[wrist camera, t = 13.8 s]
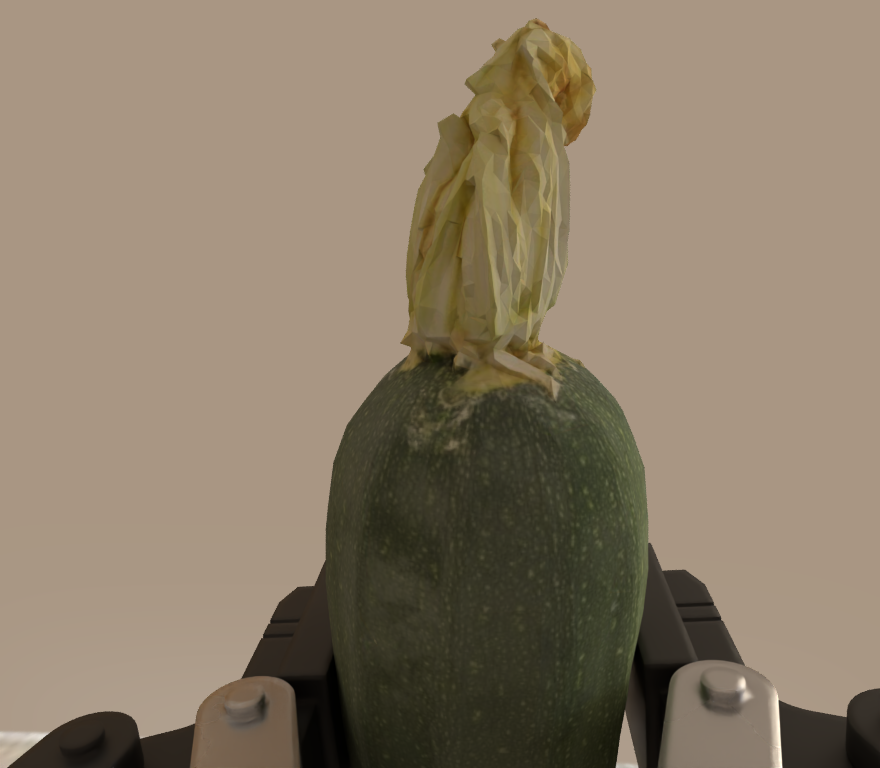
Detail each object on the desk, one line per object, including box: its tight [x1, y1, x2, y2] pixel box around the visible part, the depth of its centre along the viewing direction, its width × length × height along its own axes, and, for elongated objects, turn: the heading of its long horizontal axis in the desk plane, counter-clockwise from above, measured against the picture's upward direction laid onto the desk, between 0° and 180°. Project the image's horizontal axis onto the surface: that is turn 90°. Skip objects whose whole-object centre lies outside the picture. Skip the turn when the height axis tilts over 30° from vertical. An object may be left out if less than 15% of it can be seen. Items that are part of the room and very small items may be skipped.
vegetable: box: [326, 18, 648, 768], centre depth 12 cm, size 4×4×20 cm
